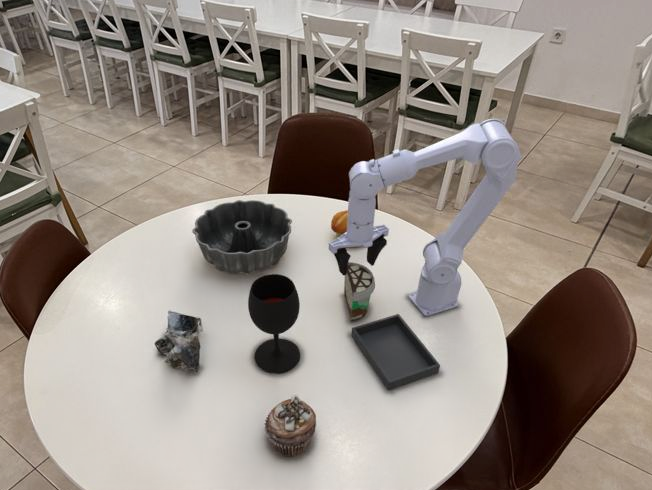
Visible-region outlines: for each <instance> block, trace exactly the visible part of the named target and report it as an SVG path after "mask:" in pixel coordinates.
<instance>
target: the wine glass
mask: <svg viewBox="0 0 652 490" xmlns="http://www.w3.org/2000/svg"><path fill="white" fill-rule="evenodd" d="M247 298H248V299H247V307H248V308H247V309H248V313H249V317H250V319H251V321H252V323H253V324H254V326H255V327H256V328H257V329H259V330H260V331H262V332H263V333H265V334H269V335H272V336H273V338H271V339H268V340H266V341H264V342H262V343H260V344H259V345H258V347H256V349H255V351H254V355H253V356H254V363H255V365H256V366H257V367H258V368H259V369H260V370H262V371H264V372H266V373H269V374H276V375H277V374H284V373H287V372H290V371H292V370H293V369H294V368H296V366H297V365H298V364H299V362H300V360H301V351H300V349H299V347H298V345H296V344H295V343H294V342H293V341H292V340H289V339H286V338H279V335H281V334H283V333H286V332H287V331H289V330H290V329H291V328H292V327H293V326H294V325H295V323H296V321H297V320H298V317H299V314H300V308H301V307H300V306H301V305H300V304H301V303H300V298H299V294H298V290H297V287H296V285H295V283H294V281H293V280H292V279H291V278H290V277H289V276H286V275H283V274H279V273H270V274H269V273H268V274H265V275H261V276H260V277H258V278H256V279H255V280H254V281H253V282H252V283H251V286H250V288H249V293H248V297H247Z"/></svg>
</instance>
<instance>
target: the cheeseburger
mask: <svg viewBox="0 0 652 490" xmlns="http://www.w3.org/2000/svg"><path fill="white" fill-rule="evenodd" d="M347 219H348V209H347V210H342V211H338V212H336V213H335V214H334V215H333V216H332V218H331V223H330V228H331V230H332V232H333V233H335V235H336V239H337V238H338V237H340V236H341V235H343V234H344V233H345V232H347ZM357 247H358V246H356V247H355V248H357Z"/></svg>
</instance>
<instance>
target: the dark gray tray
mask: <svg viewBox="0 0 652 490" xmlns="http://www.w3.org/2000/svg"><path fill="white" fill-rule="evenodd" d="M350 331H351V333H350V337H351V338H352V340H353V341H354V343H355V344H356V346H357V347H358V349H359V350H360V352H361V353H362V355H363V356H364V358H365V359H366V361H367V362H368V364H369V366H370V367H371V368H372V369H373V371H374V372H375V374H376V376H377V377H378V379H379V380H380V382H381V383H382V384H383V386H384V387H385V389H386V390H387V391H388V392H389V391H391V390H394V389H398V388H400V387H403V386H406V385H408V384H412V383H414V382H417V381H420V380H423V379H426V378H429V377H432V376H435V375H438V374H439V372H440V368H441V364H440V363H439V362H438V361H437V359H436V358H435V357H434V355H433V354H432V353H431V352H430V350H429V349H428V348H427V347H426V345H425V344H424V343H423V342H422V340H421V339H420V338H419V337H418V336H417V334H416V333H415V332H414V331H413V329H412V328H411V327H410V326H409V325H408V323H406V321H405V320H404V319H403V317H402V316H401V315H400V313H396V314H394V315H390V316H387V317H383V318H379V319H377V320H374V321H371V322H367V323H363V324H360V325H357V326H354V327H351V330H350Z"/></svg>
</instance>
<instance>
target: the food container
mask: <svg viewBox="0 0 652 490" xmlns="http://www.w3.org/2000/svg"><path fill="white" fill-rule="evenodd" d="M343 284H344V286H343V298H344V302H345V306H346V310H347V311H346V312H347V314H348V318H349V321H350V323H352V322H358V321H361V320H362V319H363V318H364V317H366V315H367V313H368V309H369V305H370V300H371V295H372V294H373V293H374V292H375V289H376V280H375V277H374V273H373V272H372V271H371V270H370V269H369V268H368V267H367V266H366V265H363V264H360V263H357V262H349V261H348V266H347V274H346V275H344V283H343Z"/></svg>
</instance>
